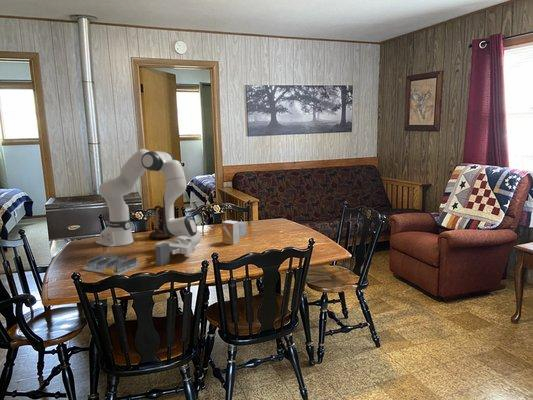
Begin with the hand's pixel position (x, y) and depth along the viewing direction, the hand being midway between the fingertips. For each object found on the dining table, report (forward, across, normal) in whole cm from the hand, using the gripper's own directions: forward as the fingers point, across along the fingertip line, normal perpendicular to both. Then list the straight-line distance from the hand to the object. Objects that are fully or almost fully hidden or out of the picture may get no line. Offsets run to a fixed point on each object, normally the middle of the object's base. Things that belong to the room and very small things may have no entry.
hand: (164, 251), depth 201 cm
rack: (+15, -20, +6) cm, 26 cm away
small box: (-45, +14, +6) cm, 47 cm away
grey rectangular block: (+1, 0, +6) cm, 6 cm away
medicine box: (-61, +12, +6) cm, 62 cm away
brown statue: (-40, -33, +6) cm, 52 cm away
